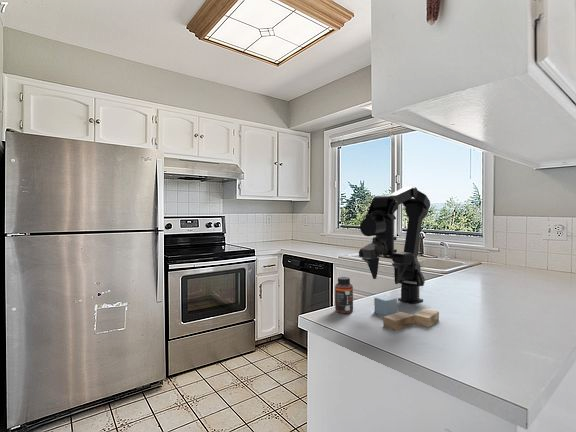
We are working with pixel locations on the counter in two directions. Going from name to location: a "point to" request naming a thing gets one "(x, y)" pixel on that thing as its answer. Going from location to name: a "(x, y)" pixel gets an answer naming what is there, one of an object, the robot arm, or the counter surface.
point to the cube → (385, 305)
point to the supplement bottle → (343, 295)
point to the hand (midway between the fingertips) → (385, 281)
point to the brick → (426, 317)
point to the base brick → (398, 320)
